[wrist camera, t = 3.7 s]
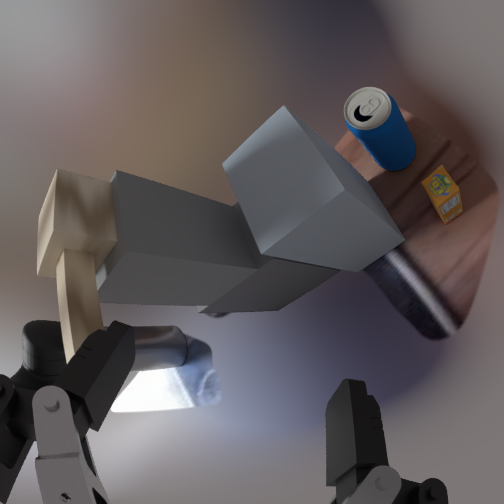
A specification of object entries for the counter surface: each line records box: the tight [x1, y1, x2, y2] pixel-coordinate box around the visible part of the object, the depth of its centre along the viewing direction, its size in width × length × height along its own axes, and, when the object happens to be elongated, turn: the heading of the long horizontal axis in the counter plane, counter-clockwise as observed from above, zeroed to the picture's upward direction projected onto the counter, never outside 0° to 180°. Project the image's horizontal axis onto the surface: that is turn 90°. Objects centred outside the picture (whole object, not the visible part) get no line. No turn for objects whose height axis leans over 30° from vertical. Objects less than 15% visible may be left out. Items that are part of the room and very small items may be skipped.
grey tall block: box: [222, 106, 405, 273], centre depth 31 cm, size 8×10×21 cm
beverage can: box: [344, 87, 416, 171], centre depth 32 cm, size 6×6×12 cm
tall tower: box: [95, 170, 340, 313], centre depth 34 cm, size 12×8×30 cm, turn 119°
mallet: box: [37, 169, 118, 363], centre depth 19 cm, size 16×6×5 cm, turn 29°
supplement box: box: [421, 165, 463, 225], centre depth 28 cm, size 3×3×10 cm
